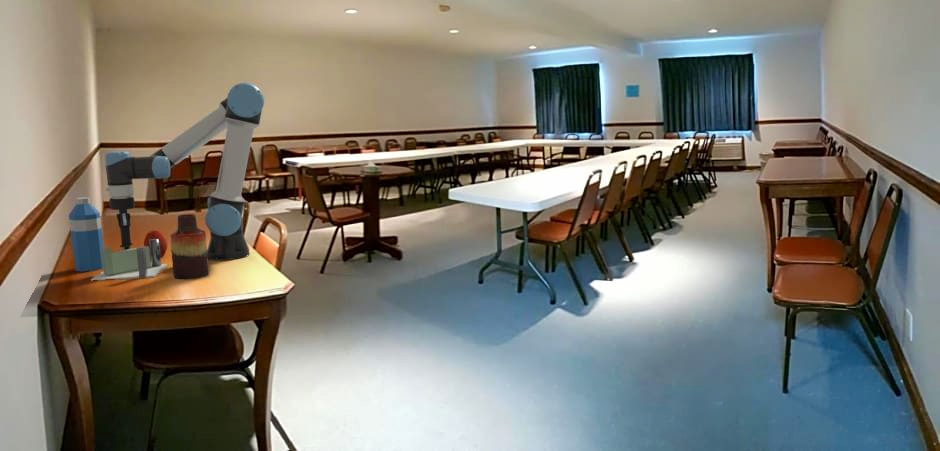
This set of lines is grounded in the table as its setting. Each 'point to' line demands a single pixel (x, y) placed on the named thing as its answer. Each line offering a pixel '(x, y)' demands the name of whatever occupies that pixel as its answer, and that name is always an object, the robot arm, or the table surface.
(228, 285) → the table surface
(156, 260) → the hinge post
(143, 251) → the stop post
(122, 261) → the gate
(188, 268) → the vase
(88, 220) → the water bottle
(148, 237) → the apple
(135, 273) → the board
